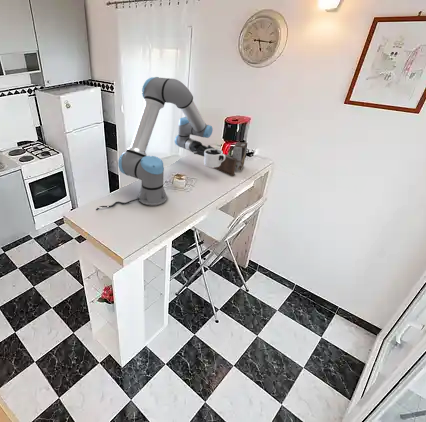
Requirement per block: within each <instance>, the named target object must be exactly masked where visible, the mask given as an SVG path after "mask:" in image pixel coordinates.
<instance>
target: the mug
mask: <svg viewBox="0 0 426 422" xmlns="http://www.w3.org/2000/svg"><path fill="white" fill-rule="evenodd" d="M211 150H217V152H218V153H221V154H218V155H210V154H207V153H205V152H206V151H209V152H211ZM224 154H225V153H224V152H223V150H221V149H220V148H219V149H218V148H215V149H207V150H205V151H204V156H203V165H204V166H205V167H207V168H211V169H215V167H219V166H220V165H221V163H222V162H223V161H224V160H225V158H226V157H225V155H226V154H225V155H224ZM220 155H221V156H224V159H223V160H222V159H221V160H222V161H221V160H219V156H220Z"/></svg>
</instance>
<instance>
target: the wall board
mask: <svg viewBox="0 0 426 422" xmlns="http://www.w3.org/2000/svg"><path fill="white" fill-rule="evenodd" d="M223 154H224V155H225V157H226V158H225V160H224V161H223V162H222V163H221V165H220V166H219V167H215V168H214V169H215V170H218V171H219V172H222V173H223V174H226V175H228V176H230V177H233V176H236V173H235V172H236V171H235V167H236V161H237V159H235V158H233V157H232V156H230V155H227V154H225V153H223ZM222 160H223V159H222ZM222 160H221V161H222Z"/></svg>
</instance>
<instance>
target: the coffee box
mask: <svg viewBox="0 0 426 422" xmlns="http://www.w3.org/2000/svg"><path fill="white" fill-rule="evenodd" d="M247 149H248V142H240V141H237V142H236V143H235V144H234V146H233V151H232V156H231V157H233V158H235V159H237V161H236V167H235V172H238V173H240V172H242V169H243V168H244V166H245V161H246V155H247Z"/></svg>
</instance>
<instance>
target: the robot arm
mask: <svg viewBox="0 0 426 422" xmlns="http://www.w3.org/2000/svg"><path fill="white" fill-rule="evenodd" d="M141 92H142V93H141V95H142V97H143V100H142V102H143V103H144V106H143V108H142V110H141V115H140V117H139V120H138V123H137V126H136V128H135V132H134V135H133V138H132V142H131V145H130V147H128V148H126V151H125V152H122V153H121V154H120V156H119V158H118V162H117V165H118V170H119V172H121V173H122V174H123V175H126V176H129V177H132V178H135V179H138V180H140V181H141V187H140V190H139V193H138V198H134V199H131V200H128V201H126V202H122V201H115V202H114V203H113V204H111V205H101V206H100V205H99V207H102V208H113V207H114V206H116V204H121V205H127V204H130V203H133V202H136V201H139V203H141V204H143V205H145V206H150V207H151V206H152V207H153V206H154V207H155V206H161V205H162V204H164V203H165V202H166V201H167V193H166V191H165V188H164V187H165V186H164V171H165V167H164V162H163V160H162V159H161V158H160V157H158V156H155V155H147V153H146V151H147V149H148V145H149V143H150V139H151V136H152V133H153V131H154V128H155V125H156V122H157V119H158V117H159V113H160V110H162V109H163V108H164V107H165V104H166V103H167V104H172V105H174V106H175V107H177V108H178V109H179V110H181V112H182V113H183V115H184V117H180V118H179V120H178V134H177V135H176V136H175V138H174V144H175V146H177V147H179V148H182V149H184V150H186V151H189V152H191V153H193V155H197V156H201V157H204V151H205V150H207V149H216V148H215V147H213V146H211V144H207V146H206V145H203V143H202V142H201V141H199V140H196V139H194V138H191V136H196V137H199V138H200V137H201V138H207V139H209V138H210V137H211V136H212V134H213V131H214V130H213V129H214V128H213V126H212V125H210V124H206V121H205V120H204V118H203V116H202V114H201V113H200V111H199V109H198V107H197V105H196V104H195V101H194V96H193V94H192V92H191V90H190V89H189V88H188V87H187V86H186V84H185V83H183V82H181V81H180V80H178V79H177V78H170V77H169V78H168V77H167V78H166V77H159V76H154V77H153V76H152V77H149V78H147V79H146V80H145V82H144V83H143V85H142V88H141ZM205 153H207V154H210V155H218V154H221V153H218V152H217V150H211V152H209V151H206V152H205ZM221 159H224V156H221V155H220V156H219V160H221ZM107 206H109V207H107ZM99 209H100V208H98V207H97V208H96V209H95V211H98V210H99Z"/></svg>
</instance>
